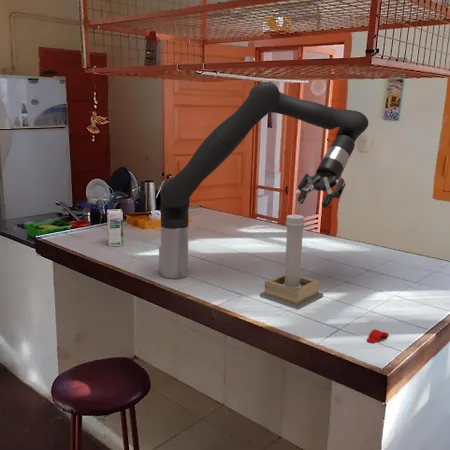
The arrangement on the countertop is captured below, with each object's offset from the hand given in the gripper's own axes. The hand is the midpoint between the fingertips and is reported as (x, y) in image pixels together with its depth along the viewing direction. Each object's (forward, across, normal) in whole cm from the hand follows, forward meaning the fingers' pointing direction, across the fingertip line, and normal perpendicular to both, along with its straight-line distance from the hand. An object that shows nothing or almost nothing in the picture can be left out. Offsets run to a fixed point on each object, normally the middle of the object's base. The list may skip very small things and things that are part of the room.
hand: (311, 204), depth 154 cm
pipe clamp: (+31, +32, +9) cm, 46 cm away
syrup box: (+28, -84, +11) cm, 90 cm away
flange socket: (+25, 0, +14) cm, 29 cm away
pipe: (+25, 0, +14) cm, 28 cm away
